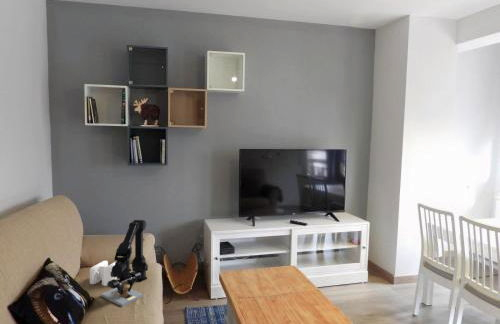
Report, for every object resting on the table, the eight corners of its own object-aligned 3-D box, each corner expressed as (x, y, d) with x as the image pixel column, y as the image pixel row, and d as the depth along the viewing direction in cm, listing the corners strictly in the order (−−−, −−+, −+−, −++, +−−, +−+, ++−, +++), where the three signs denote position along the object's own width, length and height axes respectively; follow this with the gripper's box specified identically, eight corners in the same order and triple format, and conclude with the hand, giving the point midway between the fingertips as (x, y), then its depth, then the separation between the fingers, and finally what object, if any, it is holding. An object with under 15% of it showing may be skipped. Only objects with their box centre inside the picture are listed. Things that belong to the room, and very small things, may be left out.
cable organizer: (103, 288, 211) (102, 270, 210) (89, 285, 214) (88, 267, 213) (119, 278, 226) (118, 261, 224) (105, 275, 229) (105, 259, 227)
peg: (126, 294, 204) (126, 282, 203) (132, 297, 201) (131, 284, 200) (118, 298, 200) (118, 285, 199) (124, 301, 197) (123, 288, 196)
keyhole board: (101, 296, 202) (101, 293, 202) (121, 287, 213) (121, 284, 213) (122, 306, 191) (122, 304, 190) (143, 296, 202) (143, 294, 202)
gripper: (129, 259, 211) (129, 283, 212) (101, 269, 195) (102, 295, 197) (141, 263, 204) (141, 288, 206) (113, 274, 189) (113, 301, 191)
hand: (125, 293), depth 200 cm, fingers closed on peg, 5 cm apart
